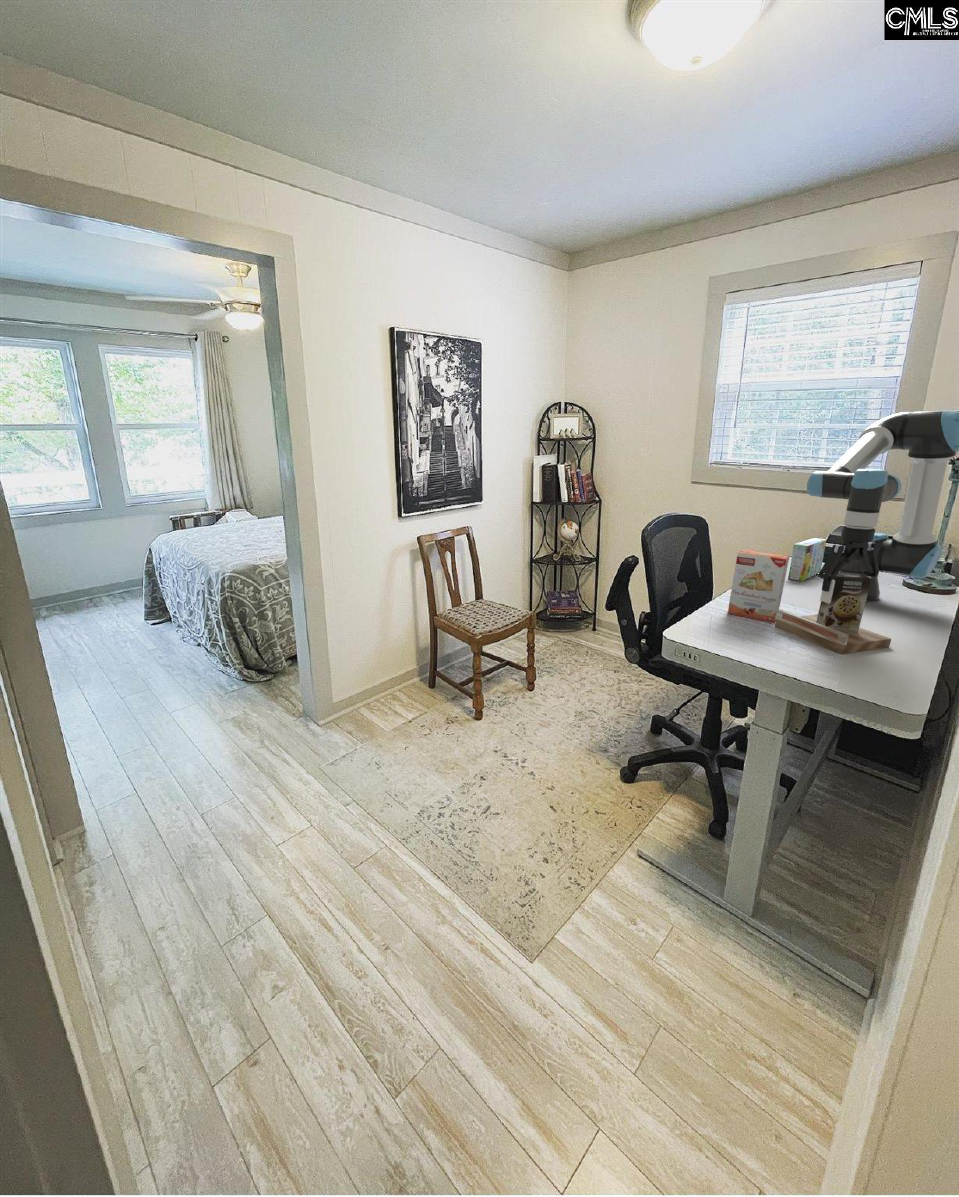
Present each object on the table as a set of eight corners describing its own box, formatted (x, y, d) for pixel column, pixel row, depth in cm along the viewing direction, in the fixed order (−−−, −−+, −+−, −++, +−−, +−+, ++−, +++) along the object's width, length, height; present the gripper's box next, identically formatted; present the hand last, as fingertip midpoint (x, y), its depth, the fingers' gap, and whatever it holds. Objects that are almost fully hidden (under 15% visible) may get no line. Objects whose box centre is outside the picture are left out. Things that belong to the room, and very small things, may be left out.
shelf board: (819, 621, 167) (822, 604, 165) (889, 647, 147) (894, 628, 145) (774, 626, 162) (777, 610, 160) (840, 654, 142) (845, 635, 140)
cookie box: (824, 630, 152) (836, 576, 147) (815, 622, 158) (826, 570, 153) (859, 632, 150) (872, 578, 146) (849, 625, 156) (861, 572, 152)
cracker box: (726, 614, 173) (736, 551, 167) (731, 609, 177) (741, 548, 171) (774, 623, 165) (786, 558, 158) (777, 618, 169) (790, 555, 163)
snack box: (806, 571, 230) (813, 537, 226) (820, 574, 226) (828, 539, 221) (786, 579, 217) (793, 543, 213) (801, 582, 213) (808, 545, 209)
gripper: (878, 521, 152) (862, 591, 159) (812, 526, 145) (798, 599, 152) (905, 526, 145) (887, 599, 152) (837, 531, 138) (821, 607, 145)
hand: (843, 599), depth 152 cm, fingers open, 13 cm apart
